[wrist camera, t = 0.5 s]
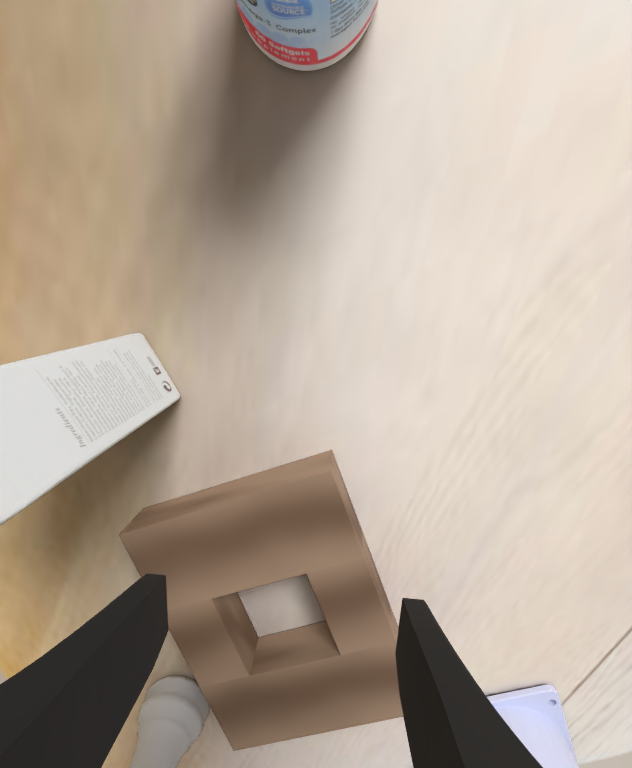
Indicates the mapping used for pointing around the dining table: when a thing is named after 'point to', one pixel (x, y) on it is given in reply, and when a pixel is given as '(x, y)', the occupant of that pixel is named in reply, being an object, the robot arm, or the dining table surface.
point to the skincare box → (73, 412)
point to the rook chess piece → (169, 722)
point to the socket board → (263, 566)
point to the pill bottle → (306, 29)
